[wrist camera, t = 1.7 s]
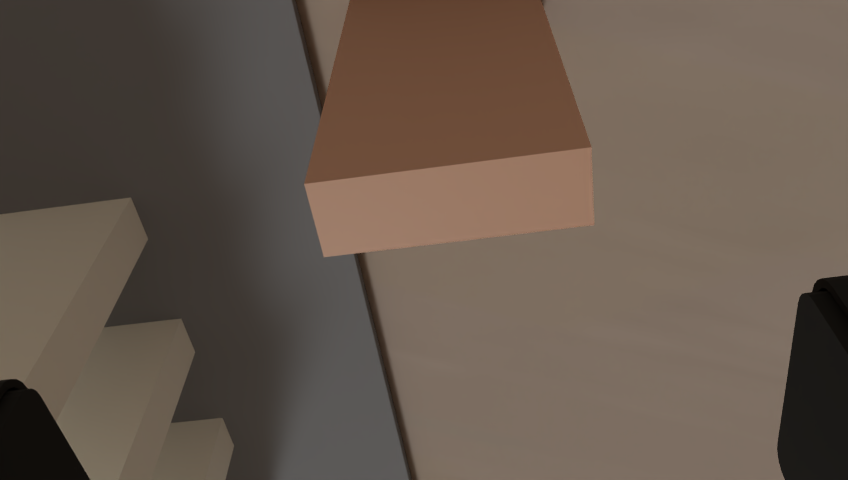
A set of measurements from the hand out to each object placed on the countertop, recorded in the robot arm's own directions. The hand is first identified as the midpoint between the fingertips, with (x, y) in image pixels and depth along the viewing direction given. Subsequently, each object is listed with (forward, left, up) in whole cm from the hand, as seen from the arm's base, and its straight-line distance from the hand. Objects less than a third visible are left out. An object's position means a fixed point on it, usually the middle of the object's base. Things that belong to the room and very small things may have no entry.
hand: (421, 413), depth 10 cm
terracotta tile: (0, 0, -15) cm, 15 cm away
